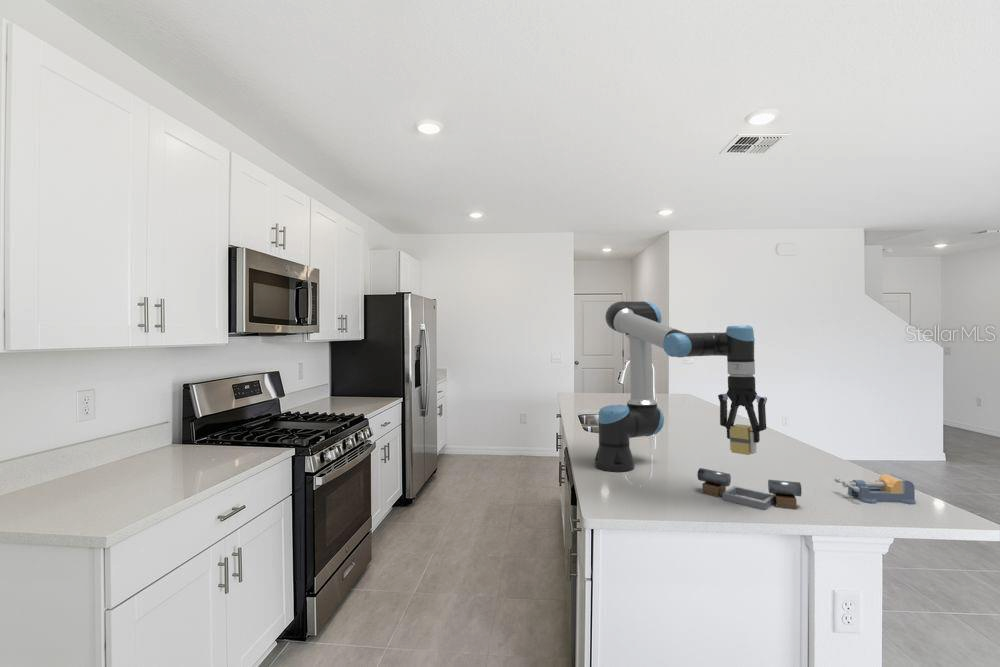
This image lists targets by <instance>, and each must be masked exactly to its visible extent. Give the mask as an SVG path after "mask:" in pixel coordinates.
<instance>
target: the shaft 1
mask: <svg viewBox="0 0 1000 667" xmlns="http://www.w3.org/2000/svg"><path fill="white" fill-rule="evenodd" d="M696 476H697V479H698V480H699V481H700V482H703V483H702V484H701V486H702V494H706V495H710V496H714V497H718V498H719V497H720V496H723V493H724V492H725V491H727V487H730V485H731V481H732V476H731V474H730V473H729V472H728V473H727V472H723V471H717V470H714V469H712V470H711V469H708V468H703V467H699V468H698V470H697V475H696Z"/></svg>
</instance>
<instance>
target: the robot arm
mask: <svg viewBox="0 0 1000 667" xmlns="http://www.w3.org/2000/svg"><path fill="white" fill-rule="evenodd" d="M604 319H605V322H606V324H607V326H608V327H609V328H610V329H611V330H613V331H616V332H617V333H620V334H625V337H627V338H628V340H629V341H628V344H629V345H628V346H629V377H630V380H629V381H630V385H629V387H630V399H628V401H627V402H626V404H611V405H607V406H603V407H601V408H600V410H599V411H598V419H597V422H598V448H597V451H596V455H595V458H594V466H595V467H596V469H599V470H602V471H606V472H615V473H616V472H629V471H632V470H634V469H635V460H634V457H633V454H632V451H631V446H630V438H631V439H633V438H639V437H642V438H643V437H651V436H654V435H657V434H659V432H661V430H662V429H663V427H664V422H665V417H664V412H662V411H663V410H662V409H661V408H660V407H659V406H658V402H657V401H656V400H655V399H654V390H653V387H654V386H653V353H652V352H653V350H652V349H653V348H652V347H653V345H654V346H657V347H659V348H661V349H663V351H664V352H665V353H666V356H669V357H672V358H673V357H674V358H689V357H709V356H715V357H718V356H720V357H722V356H723V357H724V356H726V358H727V361H726V362H727V363H726V364H727V367H726V368H727V374H728V375H729V376H728V377H727V389H728V390H727V391H726V393H722V394H721V393H720V394H718V395H717V398H718V400H719V425H720V426H721V427H724V428H726V438H727V439H728V440H729V449H730V451H731V439H730V437H731V428H730V426H733V425H735V421H736V416H737V413H738V409H739V407H744V409H745V410H746V412H747V413H746V414H747V416H748V419H749V423H750V426H751V427H752V431H751V432H750V450H751V454H750V455H754V454H756V453H758V452H757V449H758V448H757V447H758V446H757V443H759V442H760V440H761V438H760V432H762V431H765V430H766V429H767V415H766V412H767V411H766V404H767V401H768V398H767V397H766V396H760V395H758V393H757V392H756V377H755V374H756V364H755V363H756V362H755V361H756V360H755V340H756V339H755V334H754V333H755V332H754V327H753V326H752V325H747V324H746V325H744V324H743V325H727V327H726V331H725V332H685V331H681V330H679V329H676V328H674V327H671V326H669V325H665V324H664V323H662V314H661V311H660V309H659V307H658V306H656V304H655V303H653V302H650V301H643V300H641V301H625V300H624V301H622V300H621V301H617V302H614V303H612V304H611V305H609V307H607V310H606V313H605V318H604ZM728 399H729V400H730V402H731V404H730V410H729V413H728ZM754 401H756V403H757V415H758V416H757V415H756V412H755V409H754V408H755V406H754V404H753V403H754Z"/></svg>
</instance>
